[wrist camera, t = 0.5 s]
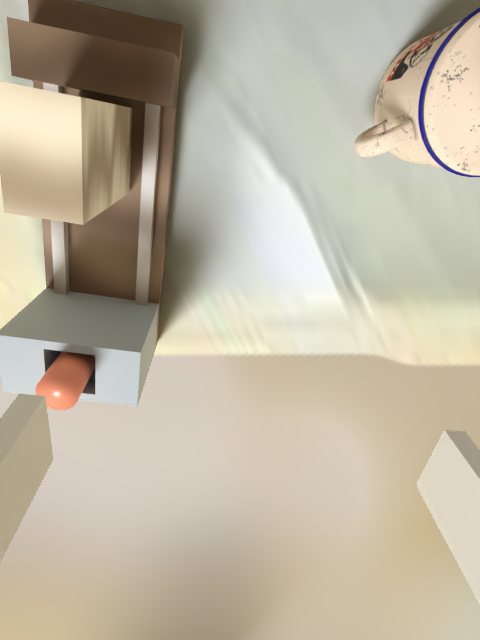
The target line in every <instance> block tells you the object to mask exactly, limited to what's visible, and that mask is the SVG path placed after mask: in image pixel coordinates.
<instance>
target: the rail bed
mask: <svg viewBox="0 0 480 640" xmlns="http://www.w3.org/2000/svg"><path fill="white" fill-rule="evenodd" d="M28 6H29V22H27V21H23V20H18V19H13V18H9V17H7V24H8V36H9V48H10V59H11V71H12V76H16V77H20V78H24V79H28V80H32V81H33V84H34V88H37V89H42V90H47V91H52V92H57V93H62V94H68V95H73V96H78V97H83V98H87V99H92V100H97V101H102V102H106V103H111V104H116V105H120V106H125V107H130V108H133V110H132V136H131V162H130V188H129V194H127V195H126V196H124V197H123V198H121V199H120V200H119V201H117V202H116V203H114V204H113V205H111V206H110V207H108V208H107V209H105V210H104V211H102V212H101V213H100V214H98V215H97V216H95V217H94V218H92V219H91V220H89V221H88V222H86V223H85V224H84V225H81V224H74V223H68V222H62V221H55V220H49V219H43V218H42V225H43V240H44V256H45V272H46V287H47V288H49V289H54V293H56V294H64V295H67V294H68V293H69V291H71V292H78V293H85V294H92V295H99V296H107V297H114V298H121V299H128V300H135V304H136V305H143V306H147V303H148V302H150V303H157V304H159V309H158V321H157V333H156V345H157V342H158V331H159V319H160V307H161V296H162V284H163V272H164V260H165V249H166V237H167V225H168V214H169V202H170V190H171V179H172V167H173V155H174V143H175V132H176V120H177V108H178V97H179V85H180V73H181V62H182V50H183V38H184V29H183V26H182V25H178V24H174V23H169V22H165V21H160V20H156V19H151V18H147V17H142V16H138V15H133V14H129V13H124V12H120V11H115V10H111V9H106V8H102V7H97V6H93V5H88V4H84V3H79V2H75V1H70V0H28ZM156 345H155V348H156Z"/></svg>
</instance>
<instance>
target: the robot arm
mask: <svg viewBox="0 0 480 640" xmlns="http://www.w3.org/2000/svg"><path fill="white" fill-rule="evenodd" d="M52 461H53V454H52V446H51V438H50V430H49V422H48V413H47V405H46V397H45V396H41V395H29V394H19V395H18V396H17V398H16V399H15V400H14V401H13V403H12V404H11V405H10V407H9V408H8V409H7V411H6V412H5V413H4V415H3V416H2V417H1V418H0V562H1V560H2V558H3V555H4V554H5V552H6V550H7V548H8V546H9V544H10V542H11V540H12V538H13V536H14V534H15V533H16V531H17V529H18V527H19V525H20V523H21V521H22V519H23V517H24V515H25V513H26V511H27V509H28V507H29V505H30V503H31V501H32V499H33V498H34V496H35V494H36V492H37V490H38V488H39V486H40V484H41V482H42V480H43V478H44V476H45V474H46V472H47V470H48V468H49V466H50V465H51V463H52ZM416 486H417V488H418V490H419V492H420V493H421V495H422V497H423V499H424V501H425V503H426V505H427V507H428V508H429V510H430V512H431V514H432V516H433V518H434V520H435V522H436V524H437V526H438V527H439V529H440V531H441V533H442V535H443V537H444V539H445V541H446V543H447V544H448V546H449V548H450V550H451V552H452V554H453V556H454V558H455V559H456V561H457V563H458V565H459V567H460V569H461V571H462V573H463V575H464V577H465V579H466V580H467V582H468V584H469V586H470V588H471V590H472V592H473V594H474V596H475V597H476V599H477V601H478V603H479V605H480V450H479V449H478V447H477V446H476V445H475V444H474V442H473V441H472V440H471V438H470V437H469V436H468V435H467V433H466V432H462V431H449V430H444V432H443V434H442V436H441V438H440V440H439V442H438V443H437V445H436V447H435V449H434V451H433V453H432V455H431V457H430V459H429V461H428V463H427V465H426V467H425V468H424V471H423V472H422V474H421V476H420V478H419V480H418V482H417V484H416Z"/></svg>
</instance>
